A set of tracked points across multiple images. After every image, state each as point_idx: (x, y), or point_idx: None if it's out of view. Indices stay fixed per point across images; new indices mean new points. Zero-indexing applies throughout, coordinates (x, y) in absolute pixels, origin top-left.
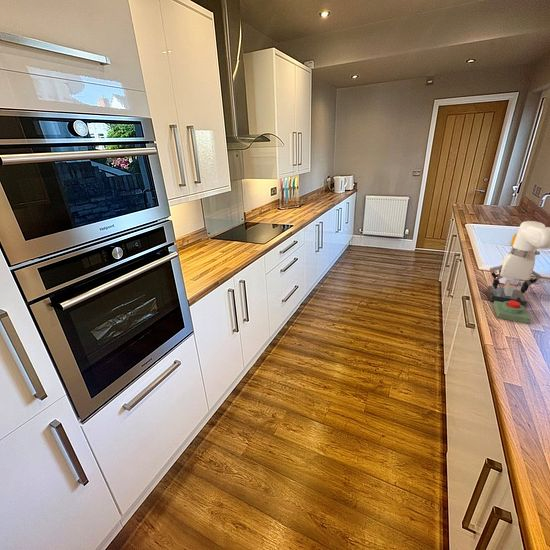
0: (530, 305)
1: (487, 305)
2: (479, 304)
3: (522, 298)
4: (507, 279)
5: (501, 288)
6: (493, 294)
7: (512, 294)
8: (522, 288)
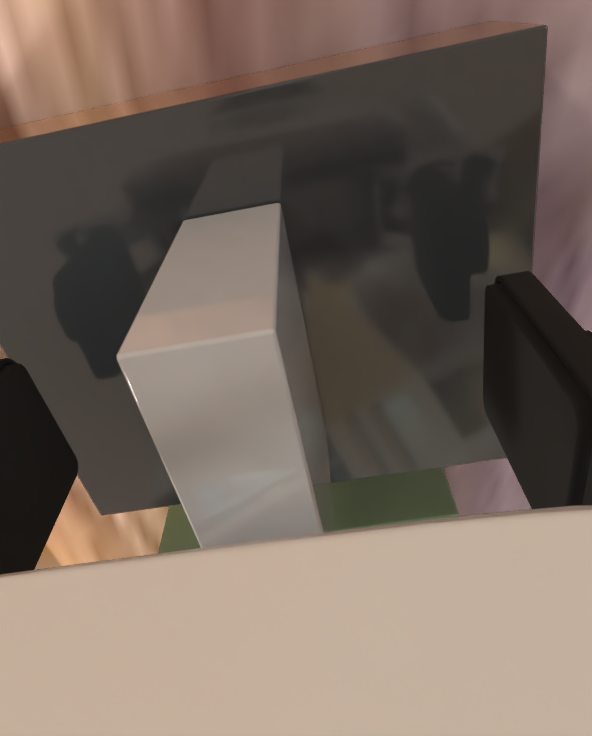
0: (579, 287)
1: (127, 528)
2: (61, 545)
3: (474, 403)
4: (136, 355)
5: (149, 178)
6: (102, 486)
7: (345, 343)
8: (510, 388)
